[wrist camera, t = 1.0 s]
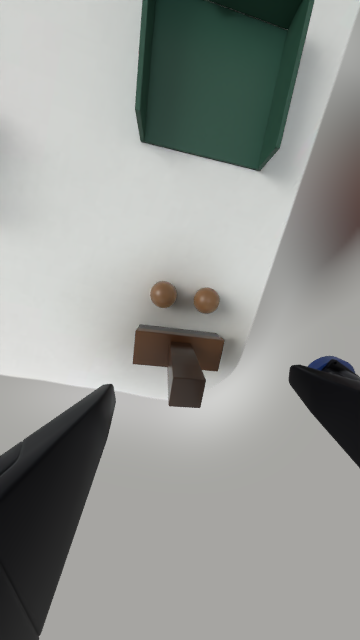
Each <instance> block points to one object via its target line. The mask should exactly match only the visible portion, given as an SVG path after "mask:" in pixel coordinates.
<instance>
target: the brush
mask: <svg viewBox="0 0 360 640" xmlns="http://www.w3.org/2000/svg"><path fill="white" fill-rule="evenodd" d="M223 345H224V339H223V338H221V337H219V336H218V335H217V334H216V333H209V332H201V331H192V330H183V329H175V328H166V327H158V326H149V325H139V327H138V328H137V329H136V333H135V344H134V355H133V364H139V365H150V366H162V367H167V368H168V401H169V406H175V407H192V408H193V407H194V408H200V407H201V402H202V397H203V392H204V387H205V382H206V379H205V377H204V374H203V372H202V370H207V371H218V368H219V364H220V359H221V355H222V350H223Z"/></svg>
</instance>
